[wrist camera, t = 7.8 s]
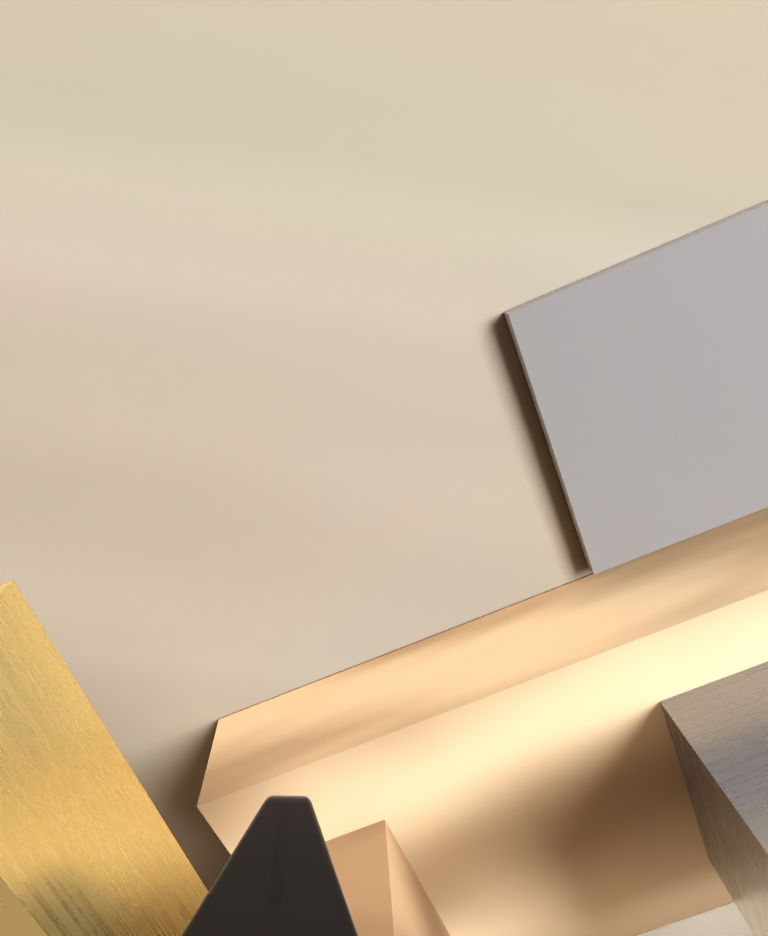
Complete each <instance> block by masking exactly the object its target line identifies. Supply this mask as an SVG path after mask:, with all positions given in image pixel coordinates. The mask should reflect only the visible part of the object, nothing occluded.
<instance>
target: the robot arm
mask: <svg viewBox="0 0 768 936" xmlns="http://www.w3.org/2000/svg"><path fill="white" fill-rule="evenodd" d="M181 936H358V934H357V931H356V928H355V926H354V923H353V920H352V917H351V914H350V911H349V908H348V905H347V903H346V900H345V897H344V894H343V891H342V888H341V885H340V882H339V880H338V877H337V874H336V871H335V868H334V865H333V862H332V859H331V857H330V854H329V851H328V848H327V845H326V842H325V839H324V837H323V834H322V831H321V828H320V825H319V822H318V819H317V816H316V814H315V811H314V808H313V805H312V802H311V800H310V799H309V798H308V797H307V796H283V795H272V796H269V797H268V798H267V799H266V800H265V801H264V803H263V804H262V806H261V807H260V809H259V811H258V812H257V814H256V815H255V817H254V819H253V820H252V822H251V823H250V825H249V827H248V828H247V830H246V832H245V833H244V835H243V836H242V838H241V840H240V841H239V843H238V845H237V846H236V848H235V849H234V851H233V853H232V854H231V856H230V857H229V859H228V861H227V862H226V864H225V866H224V867H223V869H222V870H221V872H220V874H219V875H218V877H217V879H216V880H215V882H214V883H213V885H212V887H211V888H210V890H209V891H208V893H207V895H206V896H205V898H204V900H203V901H202V903H201V904H200V906H199V908H198V909H197V911H196V913H195V914H194V916H193V917H192V919H191V921H190V922H189V924H188V925H187V927H186V929H185V930H184V932H183V934H182V935H181Z"/></svg>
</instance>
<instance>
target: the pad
mask: <svg viewBox="0 0 768 936" xmlns="http://www.w3.org/2000/svg"><path fill="white" fill-rule="evenodd" d="M504 314H505V317H506V320H507V323H508V326H509V329H510V332H511V335H512V338H513V341H514V344H515V347H516V350H517V353H518V356H519V359H520V362H521V365H522V368H523V371H524V374H525V377H526V380H527V383H528V386H529V389H530V392H531V395H532V398H533V401H534V404H535V407H536V410H537V413H538V416H539V419H540V422H541V425H542V428H543V432H544V435H545V438H546V441H547V444H548V447H549V450H550V453H551V456H552V459H553V462H554V465H555V468H556V471H557V474H558V477H559V480H560V483H561V486H562V489H563V492H564V495H565V498H566V501H567V504H568V507H569V510H570V513H571V516H572V519H573V522H574V525H575V528H576V531H577V534H578V537H579V540H580V543H581V546H582V549H583V552H584V555H585V558H586V561H587V564H588V567H589V569H590V570H591V571H592V572H593V574H594V575H595V574H597V573H600V572H602V571H605V570H607V569H610V568H613V567H615V566H618V565H620V564H623V563H625V562H628V561H631V560H633V559H636V558H638V557H641V556H643V555H646V554H649V553H651V552H654V551H656V550H659V549H661V548H664V547H667V546H669V545H672V544H674V543H677V542H679V541H682V540H685V539H687V538H690V537H692V536H695V535H697V534H700V533H703V532H705V531H708V530H710V529H713V528H715V527H718V526H721V525H723V524H726V523H728V522H731V521H733V520H736V519H739V518H741V517H744V516H746V515H749V514H751V513H754V512H757V511H759V510H762V509H764V508H767V507H768V201H765V202H763V203H761V204H758V205H756V206H753V207H751V208H749V209H746V210H744V211H742V212H739V213H737V214H735V215H732V216H730V217H727V218H725V219H723V220H720V221H718V222H716V223H713V224H711V225H709V226H706V227H704V228H702V229H699V230H697V231H694V232H692V233H690V234H687V235H685V236H683V237H680V238H678V239H676V240H673V241H671V242H668V243H666V244H664V245H661V246H659V247H657V248H654V249H652V250H650V251H647V252H645V253H642V254H640V255H638V256H635V257H633V258H631V259H628V260H626V261H624V262H621V263H619V264H617V265H614V266H612V267H609V268H607V269H605V270H602V271H600V272H598V273H595V274H593V275H591V276H588V277H586V278H583V279H581V280H579V281H576V282H574V283H572V284H569V285H567V286H565V287H562V288H560V289H558V290H555V291H553V292H550V293H548V294H546V295H543V296H541V297H539V298H536V299H534V300H532V301H529V302H527V303H524V304H522V305H520V306H517V307H515V308H513V309H510V310H508V311H506V312H504Z"/></svg>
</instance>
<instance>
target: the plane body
mask: <svg viewBox="0 0 768 936" xmlns="http://www.w3.org/2000/svg"><path fill="white" fill-rule="evenodd" d="M767 661H768V507H767V508H764V509H762V510H759V511H757V512H754V513H751V514H749V515H746V516H744V517H741V518H739V519H736V520H733V521H731V522H728V523H726V524H723V525H721V526H718V527H715V528H713V529H710V530H708V531H705V532H703V533H700V534H697V535H695V536H692V537H690V538H687V539H685V540H682V541H679V542H677V543H674V544H672V545H669V546H667V547H664V548H661V549H659V550H656V551H654V552H651V553H649V554H646V555H643V556H641V557H638V558H636V559H633V560H631V561H628V562H625V563H623V564H620V565H618V566H615V567H613V568H610V569H607V570H605V571H602V572H600V573H597V574H595V575H594V574H592V575H589V576H586V577H584V578H581V579H579V580H576V581H574V582H571V583H568V584H566V585H563V586H561V587H558V588H556V589H553V590H550V591H548V592H545V593H543V594H540V595H538V596H535V597H532V598H530V599H527V600H525V601H522V602H520V603H517V604H514V605H512V606H509V607H507V608H504V609H502V610H499V611H496V612H494V613H491V614H489V615H486V616H484V617H481V618H478V619H476V620H473V621H471V622H468V623H466V624H463V625H460V626H458V627H455V628H453V629H450V630H448V631H445V632H442V633H440V634H437V635H435V636H432V637H430V638H427V639H424V640H422V641H419V642H417V643H414V644H411V645H409V646H406V647H404V648H401V649H399V650H396V651H393V652H391V653H388V654H386V655H383V656H381V657H378V658H375V659H373V660H370V661H368V662H365V663H363V664H360V665H357V666H355V667H352V668H350V669H347V670H345V671H342V672H339V673H337V674H334V675H332V676H329V677H327V678H324V679H321V680H319V681H316V682H314V683H311V684H309V685H306V686H303V687H301V688H298V689H296V690H293V691H291V692H288V693H285V694H283V695H280V696H278V697H275V698H273V699H270V700H267V701H265V702H262V703H260V704H257V705H255V706H252V707H249V708H247V709H244V710H242V711H239V712H237V713H234V714H231V715H229V716H226V717H224V718H221V719H219V721H218V725H217V729H216V733H215V736H214V740H213V744H212V748H211V752H210V756H209V760H208V764H207V768H206V772H205V776H204V780H203V784H202V788H201V792H200V796H199V800H198V804H197V808H198V809H199V811H200V812H201V813H202V815H203V816H204V818H205V819H206V821H207V822H208V823H209V825H210V826H211V828H212V829H213V830H214V832H215V833H216V835H217V836H218V837H219V839H220V840H221V842H222V843H223V844H224V846H225V847H226V849H227V850H228V852H229V853H230V854H232V853H233V851H234V849H235V848H236V846H237V845H238V843H239V841H240V840H241V838H242V836H243V835H244V833H245V832H246V830H247V828H248V827H249V825H250V823H251V822H252V820H253V819H254V817H255V815H256V814H257V812H258V811H259V809H260V807H261V806H262V804H263V803H264V801H265V800H266V799H267V798H268V797H269V796H272V795H283V796H307V797H308V798H309V799H310V800H311V802H312V805H313V808H314V811H315V814H316V816H317V819H318V822H319V825H320V828H321V831H322V834H323V837H324V839H325V842H326V845H327V848H328V851H329V854H330V857H331V859H332V862H333V865H334V868H335V871H336V874H337V877H338V880H339V882H340V885H341V888H342V891H343V894H344V897H345V900H346V903H347V905H348V908H349V911H350V914H351V917H352V920H353V923H354V926H355V928H356V931H357V934H358V936H637V935H640V934H642V933H645V932H648V931H651V930H654V929H657V928H660V927H663V926H666V925H668V924H671V923H674V922H677V921H680V920H683V919H686V918H689V917H692V916H695V915H697V914H700V913H703V912H706V911H709V910H712V909H715V908H718V907H721V906H724V905H726V904H729V903H732V902H734V900H733V899H732V897H731V895H730V894H729V892H728V890H727V889H726V887H725V885H724V884H723V882H722V881H721V879H720V877H719V876H718V874H717V872H716V871H715V869H714V867H713V866H712V864H711V862H710V861H709V858H708V854H707V851H706V848H705V845H704V842H703V838H702V835H701V832H700V829H699V826H698V822H697V819H696V816H695V813H694V810H693V806H692V803H691V800H690V797H689V794H688V790H687V787H686V784H685V781H684V778H683V774H682V771H681V768H680V765H679V761H678V758H677V755H676V752H675V749H674V745H673V742H672V739H671V736H670V733H669V729H668V726H667V723H666V720H665V717H664V713H663V710H662V707H661V704H660V701H662V700H665V699H667V698H670V697H673V696H676V695H678V694H681V693H684V692H686V691H689V690H692V689H694V688H697V687H700V686H703V685H705V684H708V683H711V682H713V681H716V680H719V679H721V678H724V677H727V676H729V675H732V674H735V673H738V672H740V671H743V670H746V669H748V668H751V667H754V666H756V665H759V664H762V663H764V662H767Z"/></svg>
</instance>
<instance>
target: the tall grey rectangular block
mask: <svg viewBox="0 0 768 936" xmlns="http://www.w3.org/2000/svg"><path fill="white" fill-rule="evenodd" d="M660 704H661V707H662V710H663V713H664V717H665V720H666V723H667V726H668V729H669V733H670V736H671V739H672V742H673V745H674V749H675V752H676V755H677V758H678V761H679V765H680V768H681V771H682V774H683V778H684V781H685V784H686V787H687V790H688V794H689V797H690V800H691V803H692V806H693V810H694V813H695V816H696V819H697V822H698V826H699V829H700V832H701V835H702V838H703V842H704V845H705V848H706V851H707V854H708V858H709V861H710V862H711V864H712V866H713V867H714V869H715V871H716V872H717V874H718V876H719V877H720V879H721V881H722V882H723V884H724V885H725V887H726V889H727V890H728V892H729V894H730V895H731V897H732V899H733V900H734V902H735V904H736V905H737V907H738V909H739V910H740V912H741V914H742V915H743V917H744V919H745V920H746V922H747V924H748V925H749V927H750V929H751V930H752V932H753V933H754V935H755V936H768V661H767V662H764V663H762V664H759V665H756V666H754V667H751V668H748V669H746V670H743V671H740V672H738V673H735V674H732V675H729V676H727V677H724V678H721V679H719V680H716V681H713V682H711V683H708V684H705V685H703V686H700V687H697V688H694V689H692V690H689V691H686V692H684V693H681V694H678V695H676V696H673V697H670V698H667V699H665V700H662V701H660Z"/></svg>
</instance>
